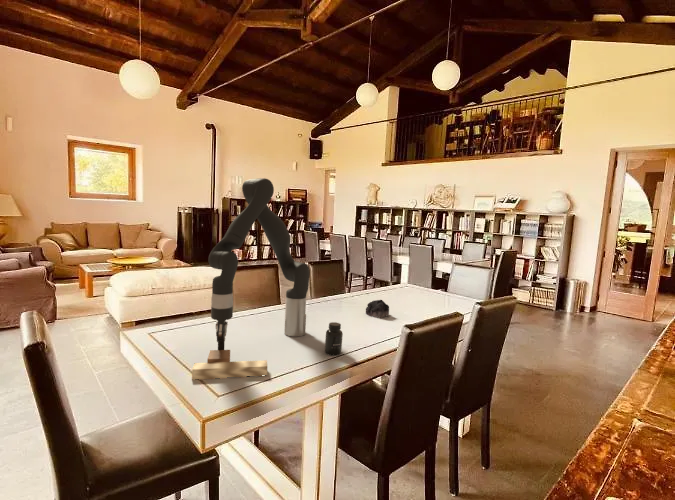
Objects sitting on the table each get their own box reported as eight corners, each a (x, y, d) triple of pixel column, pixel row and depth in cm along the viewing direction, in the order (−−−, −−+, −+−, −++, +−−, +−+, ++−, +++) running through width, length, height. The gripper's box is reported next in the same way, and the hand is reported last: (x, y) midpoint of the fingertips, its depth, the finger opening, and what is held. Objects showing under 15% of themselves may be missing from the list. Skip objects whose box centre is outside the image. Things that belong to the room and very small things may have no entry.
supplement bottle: (335, 357, 143) (337, 327, 142) (321, 353, 147) (322, 324, 146) (344, 352, 149) (346, 323, 148) (330, 348, 153) (332, 320, 152)
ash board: (266, 369, 129) (266, 360, 129) (267, 376, 124) (267, 366, 124) (194, 373, 123) (194, 363, 123) (191, 379, 119) (192, 369, 118)
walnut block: (229, 362, 134) (230, 349, 133) (228, 372, 126) (228, 358, 125) (209, 363, 132) (210, 350, 132) (207, 373, 124) (207, 359, 124)
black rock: (367, 311, 216) (367, 295, 215) (390, 312, 213) (390, 295, 212) (363, 319, 204) (363, 302, 202) (388, 320, 200) (387, 302, 199)
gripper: (231, 310, 127) (230, 358, 128) (233, 300, 139) (232, 344, 141) (209, 310, 125) (208, 358, 127) (213, 300, 138) (212, 344, 140)
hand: (221, 351), depth 134 cm, fingers closed
